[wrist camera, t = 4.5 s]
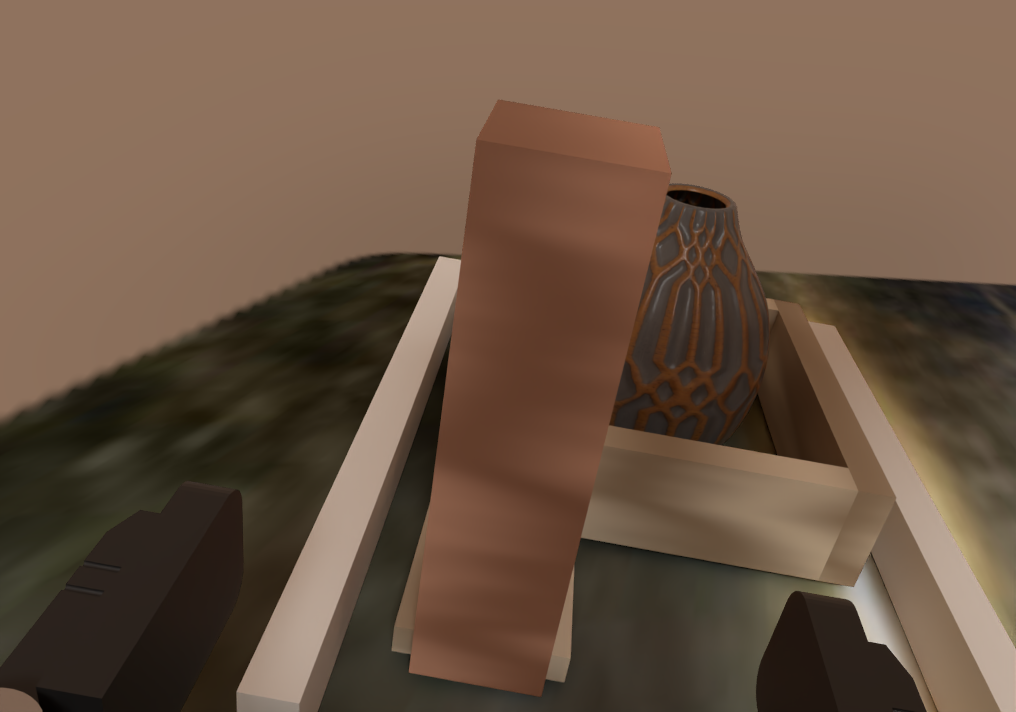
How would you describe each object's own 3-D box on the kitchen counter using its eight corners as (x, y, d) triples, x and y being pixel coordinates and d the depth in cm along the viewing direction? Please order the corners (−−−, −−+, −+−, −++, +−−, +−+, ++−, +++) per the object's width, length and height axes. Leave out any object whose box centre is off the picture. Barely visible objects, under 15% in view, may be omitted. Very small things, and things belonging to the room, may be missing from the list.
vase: (530, 375, 31) (572, 147, 27) (706, 396, 32) (775, 176, 27) (537, 490, 25) (593, 221, 21) (755, 514, 26) (852, 256, 21)
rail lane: (818, 366, 35) (834, 326, 34) (1080, 916, 16) (1133, 858, 15) (434, 298, 36) (439, 256, 35) (238, 758, 16) (235, 691, 15)
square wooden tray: (774, 374, 33) (882, 70, 28) (920, 767, 18) (1232, 271, 12) (484, 322, 34) (530, 10, 28) (386, 668, 18) (444, 134, 12)
